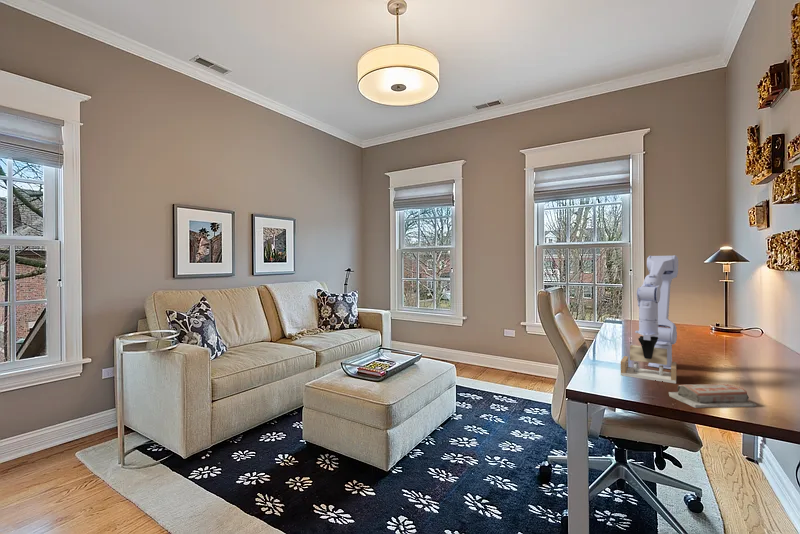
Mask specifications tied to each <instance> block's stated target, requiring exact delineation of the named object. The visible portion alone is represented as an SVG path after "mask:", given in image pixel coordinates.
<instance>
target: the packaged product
mask: <svg viewBox="0 0 800 534" xmlns="http://www.w3.org/2000/svg"><path fill="white" fill-rule="evenodd" d="M668 395H669V396H668V397H670V398H672V399H675V400H676V401H679V402H681V403H683V404H686V405H688V406H690V407H692V408H694V409H695V408H696V409H701V408H744V407H745V408H746V407H748V408H749V407H751V408H753V407H755V408H756V406H757V404H756V403H754V402H752V401H749V400H750V398H749V395H748V391H747V390H746V389H744V388H742V387H739V386H736V385H733V384H727V383H726V384H725V383H723V384H721V383H720V384H717V383H714V384H711V383H710V384H709V383H708V384H707V383H704V384H700V383H699V384H695V383H694V384H679V385H677V391H668Z"/></svg>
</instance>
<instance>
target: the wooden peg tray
mask: <svg viewBox="0 0 800 534" xmlns="http://www.w3.org/2000/svg"><path fill="white" fill-rule="evenodd" d="M621 375H622V377H629V378H635V379H643V380H649V381H655V380H656V381H657V382H662V381H663V383H670V384H677V362H676V361H672V362H671V369H670V371H664V368H663V366H662V365H659V368H658V370H653V369H646V368H640V367H639V361H634V363H633V366H629V356H628V355H624V356H623V357H622V359H621V360H620V376H621Z"/></svg>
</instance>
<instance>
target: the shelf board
mask: <svg viewBox="0 0 800 534" xmlns="http://www.w3.org/2000/svg"><path fill="white" fill-rule="evenodd" d="M629 361H634V362H641V363H648V364H649V363H656V364H664V365H667V349H665V348H655V347H654V350H653V355H652V359H646V358H644V354H643V349H642V346H641V345H634V344H630V346H629Z"/></svg>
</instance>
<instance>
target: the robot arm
mask: <svg viewBox="0 0 800 534" xmlns="http://www.w3.org/2000/svg"><path fill="white" fill-rule="evenodd" d="M646 268H647V272H648V274H647V275H646V276H645V277H644V279H643V282H642V285H641V286H640V287H637V290H636V299H637V300H636V301H637V307H638V330H635V331H634V333H635V334H639V335H640V336H639V337H637V339H638V342H639V343H640V346H642V349H643V354H644V358H646V359H652V355H653V350H654V347H655V348H665V349H667V365H664V364H656V363H648V364H647V366H648V367H652V368H658V369H659V365H662V366H663V369H666V370H667V369H668V370H671V362H673V356H672V355H673V345H675V344H676V343H677V341H678V340H677V339H678V331H677V326H676V323H674V322H673V321H672V320H670V319H669V316H670V315H669V314H670V299H671V298H670V297H671V285H672V281H673V280H674V279H675V278H677V277H678V274H679V257H678V256H677V254H676V255H675V254H674V255H648V257H647V258H646Z"/></svg>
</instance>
